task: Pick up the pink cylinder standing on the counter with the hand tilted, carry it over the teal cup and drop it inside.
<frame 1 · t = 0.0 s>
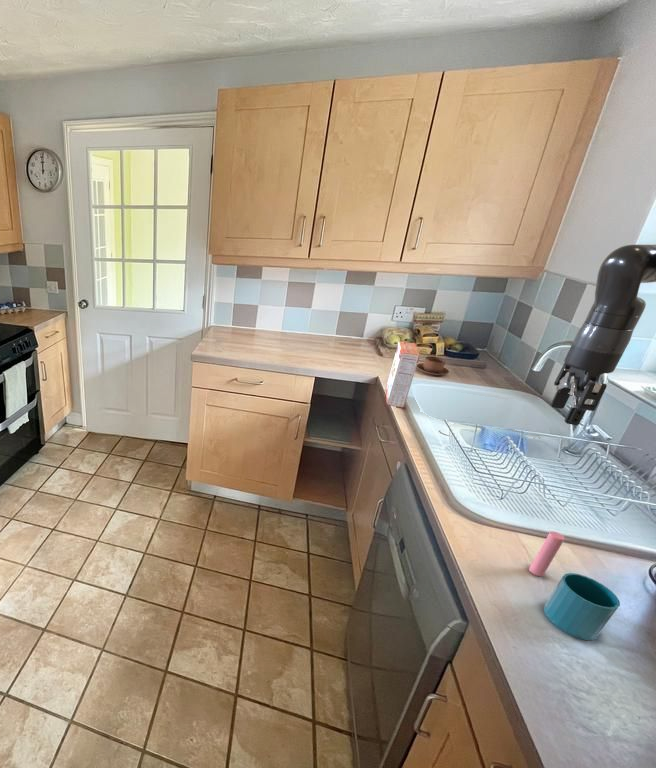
hand: (563, 415, 92), 26 cm above the worktop, tool pointing down, fingers open, 8 cm apart
teal cup: (569, 621, 75), on the worktop
cup and saucer: (431, 372, 182), on the worktop
pink cylinder: (536, 572, 85), on the worktop
cracker box: (393, 399, 157), on the worktop
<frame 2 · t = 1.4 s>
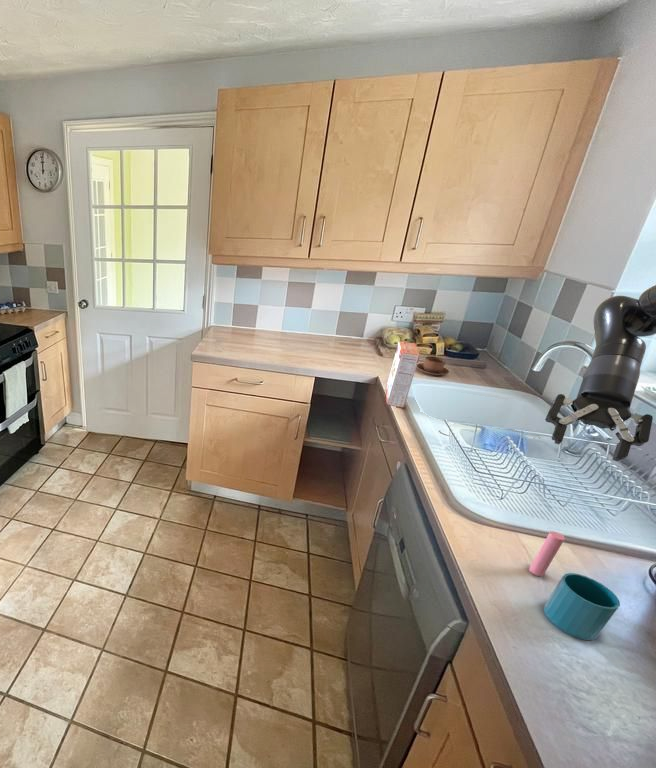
hand: (586, 451, 83), 24 cm above the worktop, tool tilted 45°, fingers open, 8 cm apart
nothing on the worktop moved.
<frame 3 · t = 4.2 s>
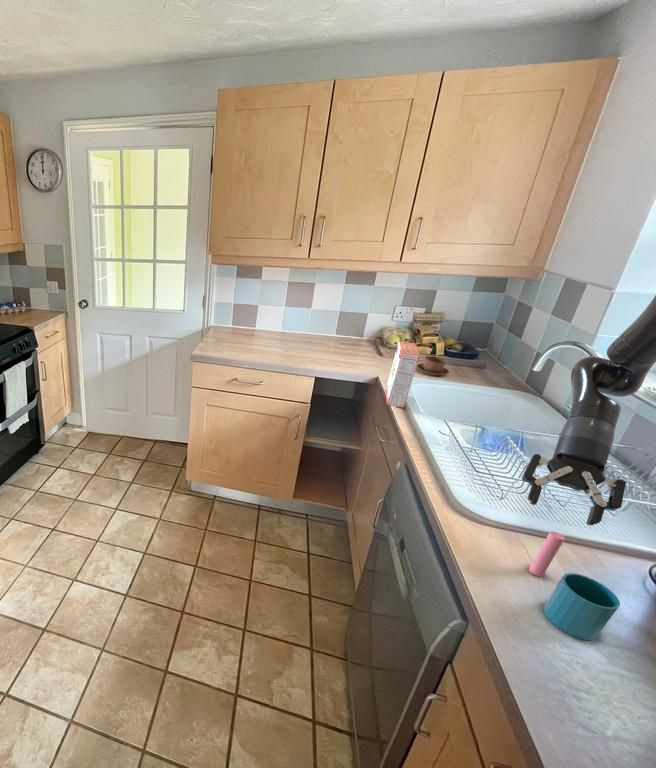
hand: (561, 513, 83), 12 cm above the worktop, tool tilted 45°, fingers open, 8 cm apart
nothing on the worktop moved.
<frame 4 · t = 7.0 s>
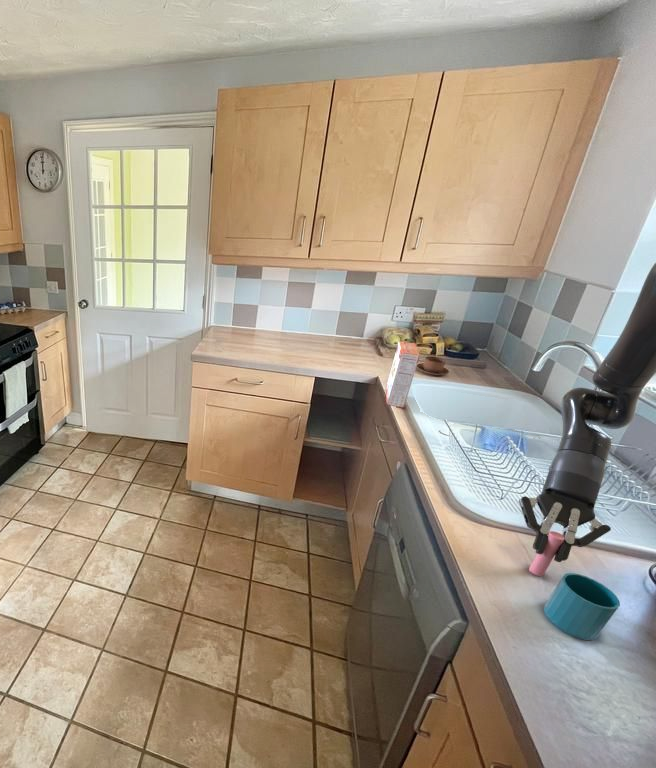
hand: (548, 556, 81), 6 cm above the worktop, tool tilted 45°, fingers closed on pink cylinder, 2 cm apart
pink cylinder: (536, 572, 85), on the worktop, touching gripper
everything else where it was.
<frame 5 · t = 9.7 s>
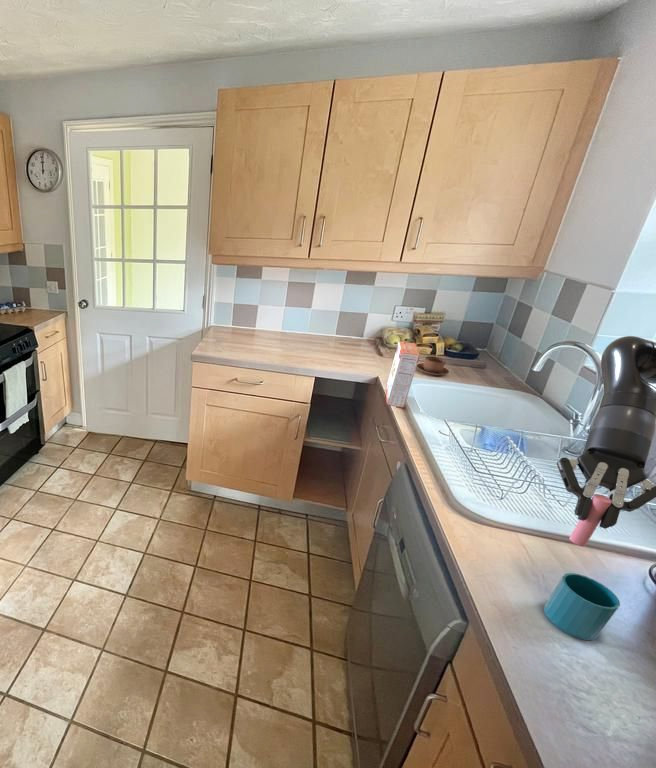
hand: (593, 522, 72), 18 cm above the worktop, tool tilted 45°, fingers closed on pink cylinder
pink cylinder: (577, 541, 76), point 12 cm above the worktop, touching gripper
everything else where it was.
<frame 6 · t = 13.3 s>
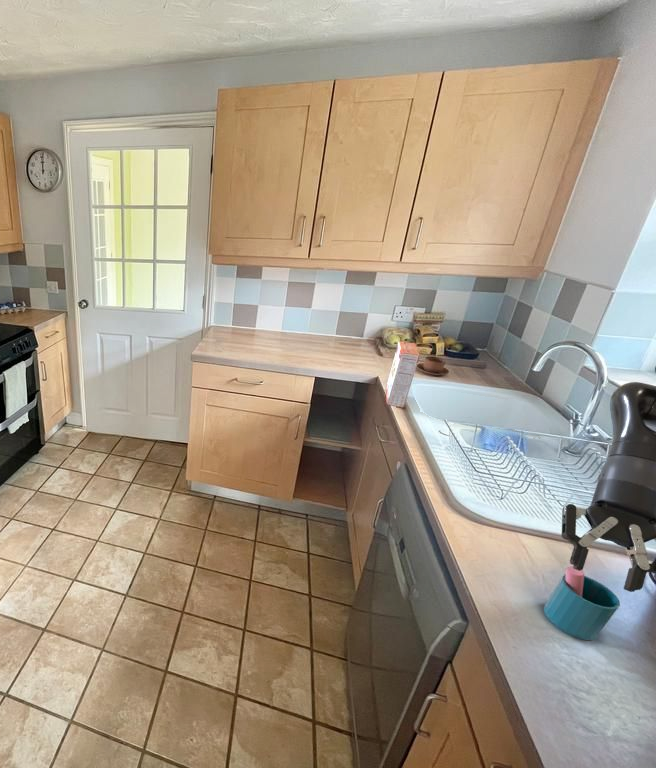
hand: (603, 579, 68), 12 cm above the worktop, tool tilted 45°, fingers open, 5 cm apart
pink cylinder: (570, 618, 75), point 1 cm above the worktop, tilted 15°, touching teal cup
everything else where it was.
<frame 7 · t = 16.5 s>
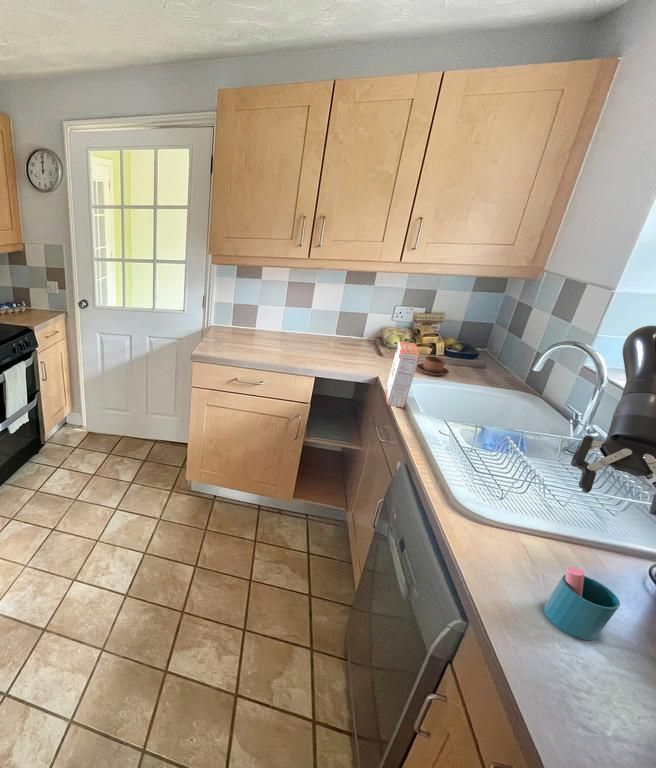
hand: (619, 502, 73), 21 cm above the worktop, tool tilted 45°, fingers open, 8 cm apart
nothing on the worktop moved.
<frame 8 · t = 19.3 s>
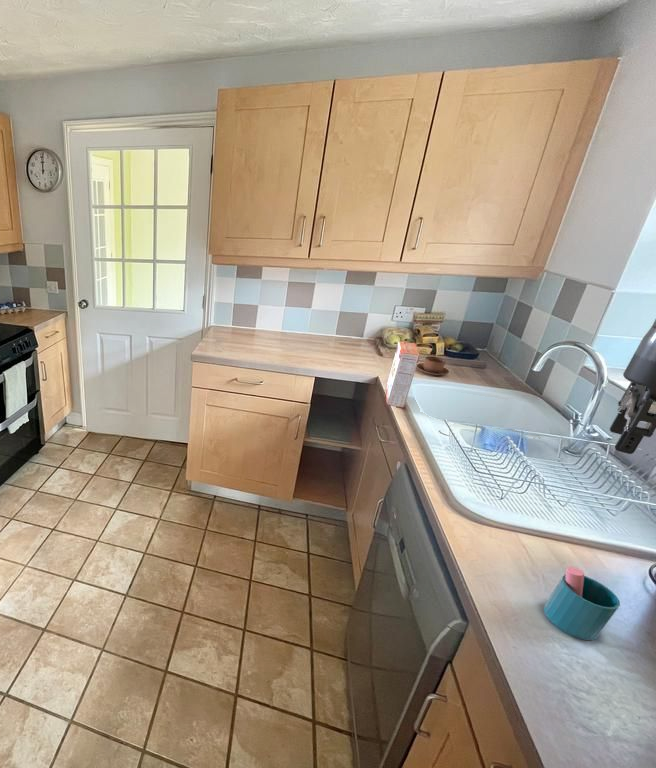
hand: (619, 441, 74), 30 cm above the worktop, tool pointing down, fingers open, 8 cm apart
nothing on the worktop moved.
at the end: pink cylinder 0.1 cm off-centre in the teal cup, point 0.7 cm above the teal cup's base; the gripper is holding nothing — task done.
